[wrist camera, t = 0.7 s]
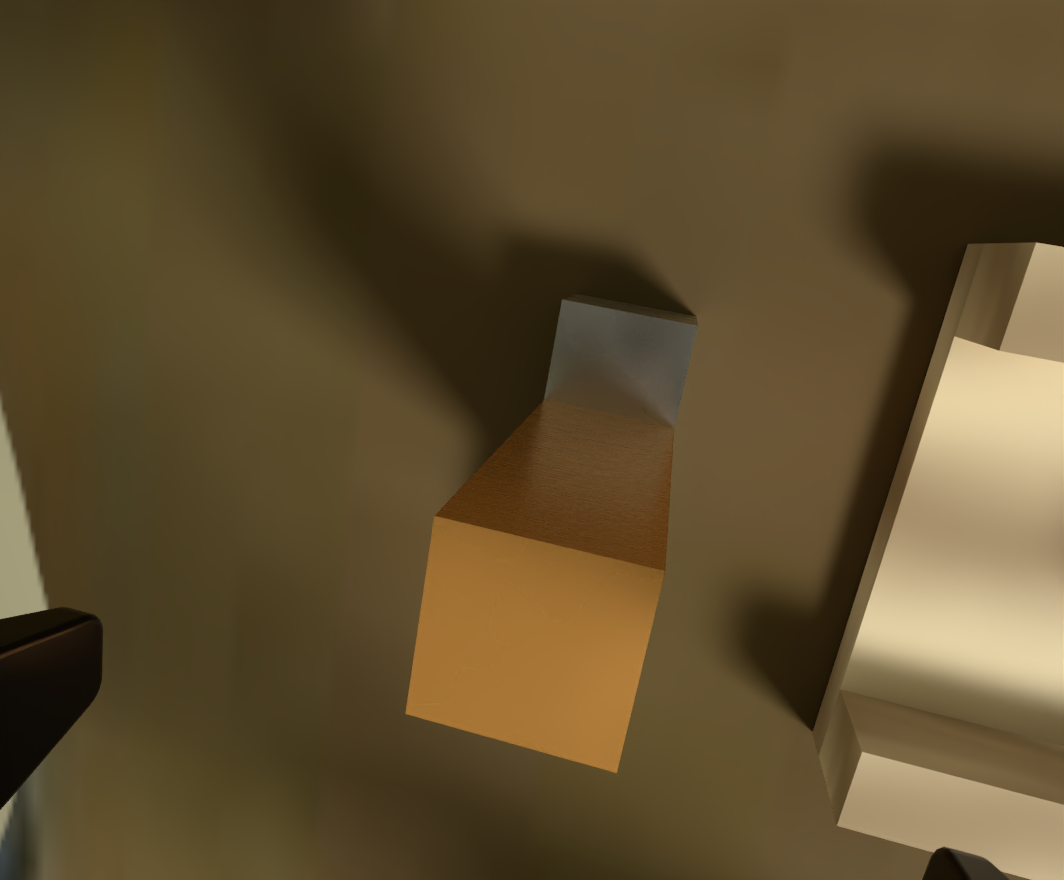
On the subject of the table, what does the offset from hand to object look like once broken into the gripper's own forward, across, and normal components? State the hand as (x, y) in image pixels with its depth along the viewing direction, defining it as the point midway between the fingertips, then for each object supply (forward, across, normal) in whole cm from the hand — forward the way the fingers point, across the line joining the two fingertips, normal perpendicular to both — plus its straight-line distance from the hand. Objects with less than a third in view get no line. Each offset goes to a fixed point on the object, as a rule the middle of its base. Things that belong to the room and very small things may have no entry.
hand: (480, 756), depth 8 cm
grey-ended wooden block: (+13, 0, 0) cm, 13 cm away
